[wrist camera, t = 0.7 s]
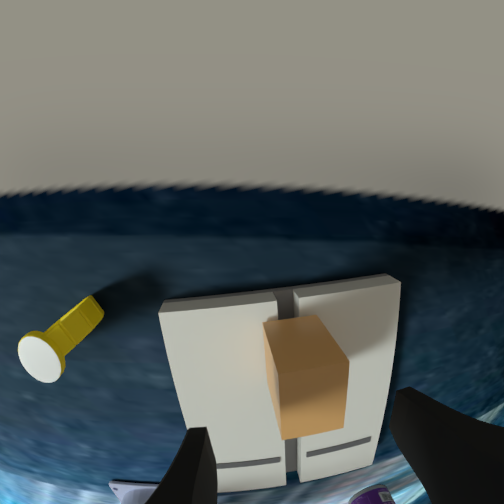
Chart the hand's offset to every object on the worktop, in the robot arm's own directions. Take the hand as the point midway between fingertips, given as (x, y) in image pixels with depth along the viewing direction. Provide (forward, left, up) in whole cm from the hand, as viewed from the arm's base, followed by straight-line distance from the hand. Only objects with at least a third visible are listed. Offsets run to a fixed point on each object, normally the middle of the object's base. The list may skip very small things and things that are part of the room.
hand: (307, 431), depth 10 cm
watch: (+2, +12, -10) cm, 16 cm away
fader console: (-6, -1, -9) cm, 11 cm away
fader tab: (-1, -1, -9) cm, 9 cm away
